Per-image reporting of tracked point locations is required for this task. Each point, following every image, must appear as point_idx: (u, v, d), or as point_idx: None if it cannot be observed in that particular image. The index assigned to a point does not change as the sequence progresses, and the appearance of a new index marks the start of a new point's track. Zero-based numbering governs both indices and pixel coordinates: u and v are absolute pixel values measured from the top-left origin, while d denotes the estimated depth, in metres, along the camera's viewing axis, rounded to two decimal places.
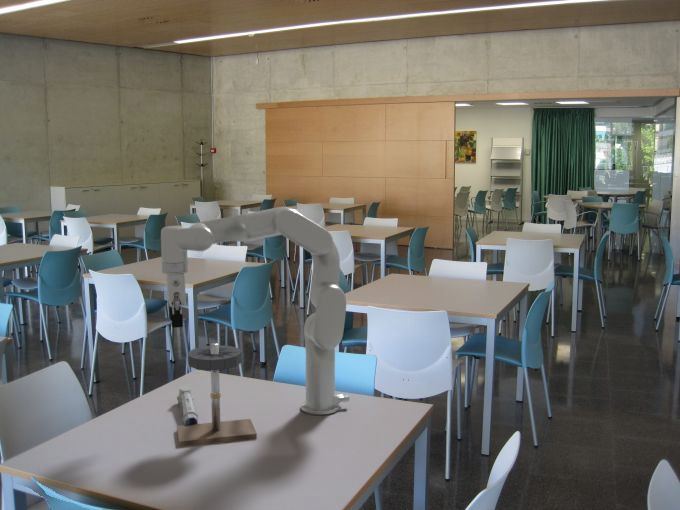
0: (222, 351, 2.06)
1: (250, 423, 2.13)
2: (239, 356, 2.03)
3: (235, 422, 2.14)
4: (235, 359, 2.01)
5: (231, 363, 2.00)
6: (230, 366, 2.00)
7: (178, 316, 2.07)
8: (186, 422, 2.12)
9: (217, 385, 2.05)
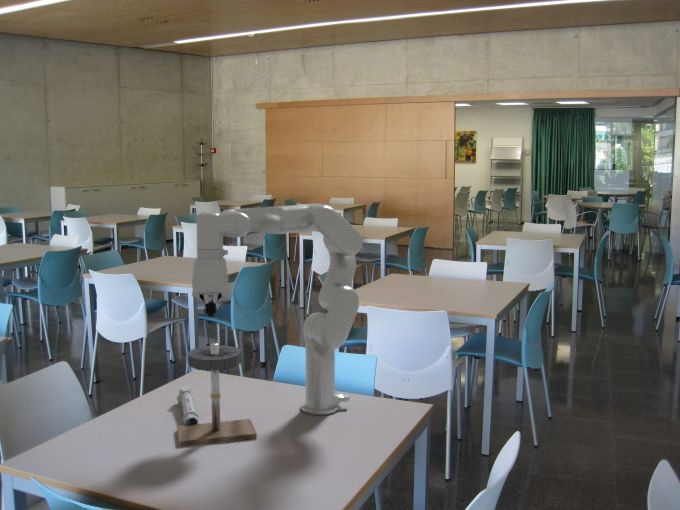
0: (222, 351, 2.06)
1: (250, 423, 2.13)
2: (239, 356, 2.03)
3: (235, 422, 2.14)
4: (235, 359, 2.01)
5: (231, 363, 2.00)
6: (230, 366, 2.00)
7: None
8: (186, 422, 2.12)
9: (217, 385, 2.05)
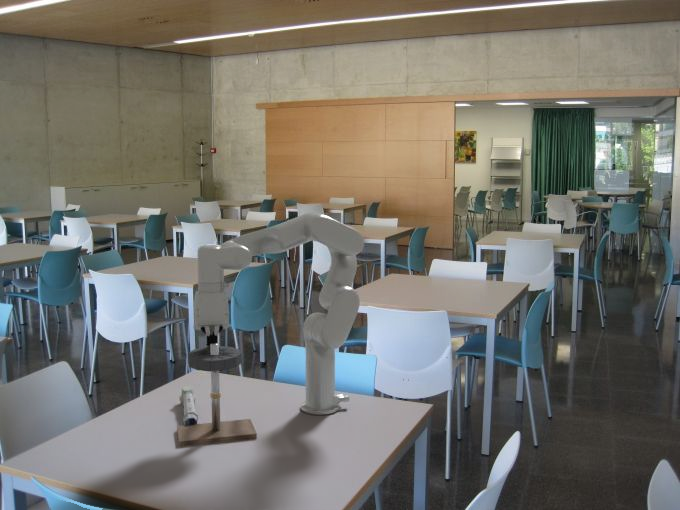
0: (222, 352, 2.06)
1: (250, 423, 2.13)
2: (239, 357, 2.04)
3: (235, 422, 2.14)
4: (235, 360, 2.01)
5: (231, 363, 2.00)
6: (230, 367, 2.00)
7: None
8: (186, 422, 2.12)
9: (217, 385, 2.05)
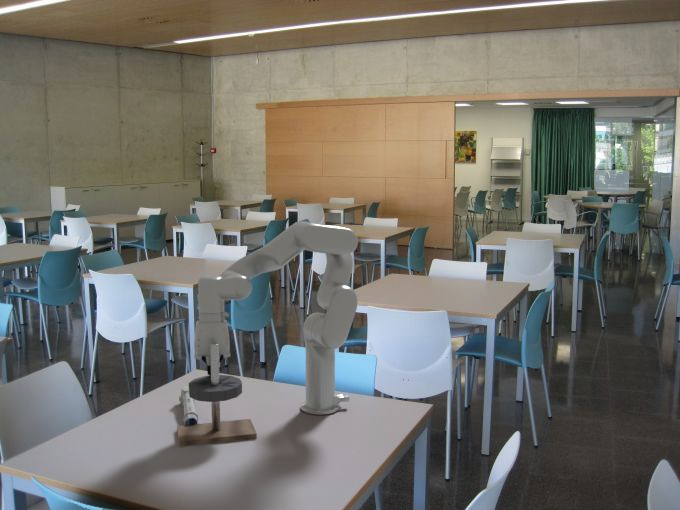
0: (223, 381, 2.07)
1: (250, 423, 2.13)
2: (240, 387, 2.05)
3: (235, 422, 2.14)
4: (236, 390, 2.02)
5: (231, 394, 2.01)
6: (231, 397, 2.01)
7: None
8: (186, 422, 2.11)
9: None
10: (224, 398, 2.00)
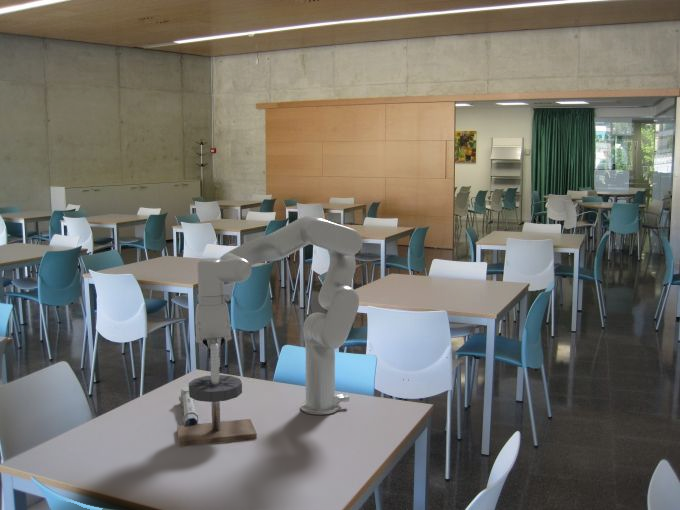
0: (223, 381, 2.07)
1: (250, 423, 2.13)
2: (240, 387, 2.05)
3: (235, 422, 2.14)
4: (236, 390, 2.02)
5: (231, 394, 2.01)
6: (231, 397, 2.01)
7: None
8: (186, 422, 2.11)
9: None
10: (224, 398, 2.00)
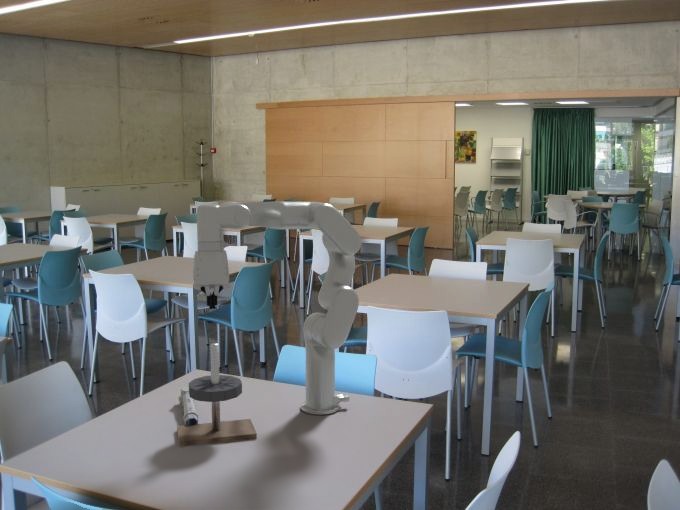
0: (223, 381, 2.07)
1: (250, 423, 2.13)
2: (240, 387, 2.05)
3: (235, 422, 2.14)
4: (236, 390, 2.02)
5: (231, 394, 2.01)
6: (231, 397, 2.01)
7: None
8: (186, 423, 2.11)
9: None
10: (224, 398, 2.00)
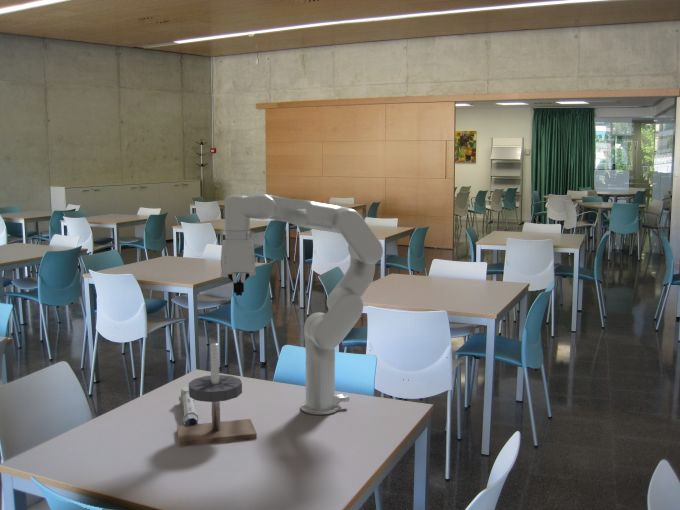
0: (223, 381, 2.07)
1: (250, 423, 2.13)
2: (240, 387, 2.05)
3: (235, 422, 2.14)
4: (236, 390, 2.02)
5: (231, 394, 2.01)
6: (231, 397, 2.01)
7: None
8: (186, 423, 2.11)
9: None
10: (224, 398, 2.00)
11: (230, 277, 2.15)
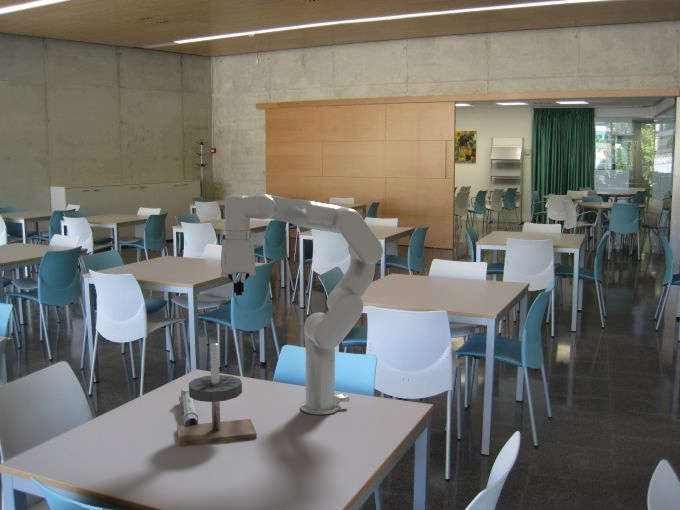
0: (223, 381, 2.07)
1: (250, 423, 2.13)
2: (240, 387, 2.05)
3: (235, 422, 2.14)
4: (236, 390, 2.02)
5: (231, 394, 2.01)
6: (231, 397, 2.01)
7: None
8: (186, 423, 2.11)
9: None
10: (224, 398, 2.00)
11: (230, 277, 2.15)
